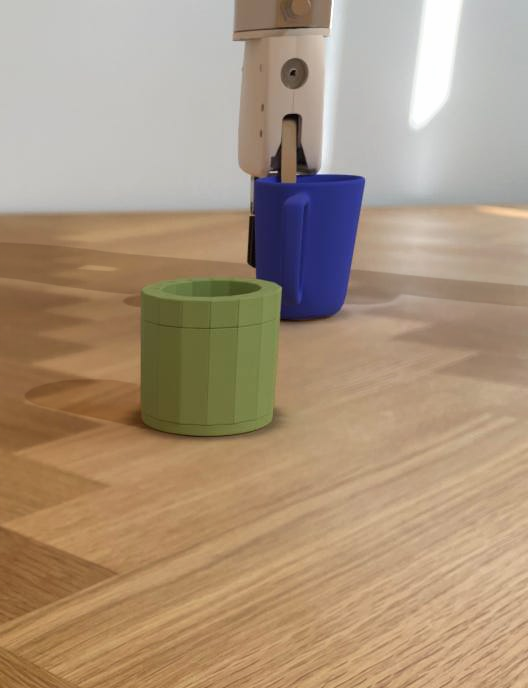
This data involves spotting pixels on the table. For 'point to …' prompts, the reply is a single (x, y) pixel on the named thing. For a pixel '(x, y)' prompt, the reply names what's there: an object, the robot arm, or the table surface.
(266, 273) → the mug
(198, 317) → the green open cylindrical container
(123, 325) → the table surface
